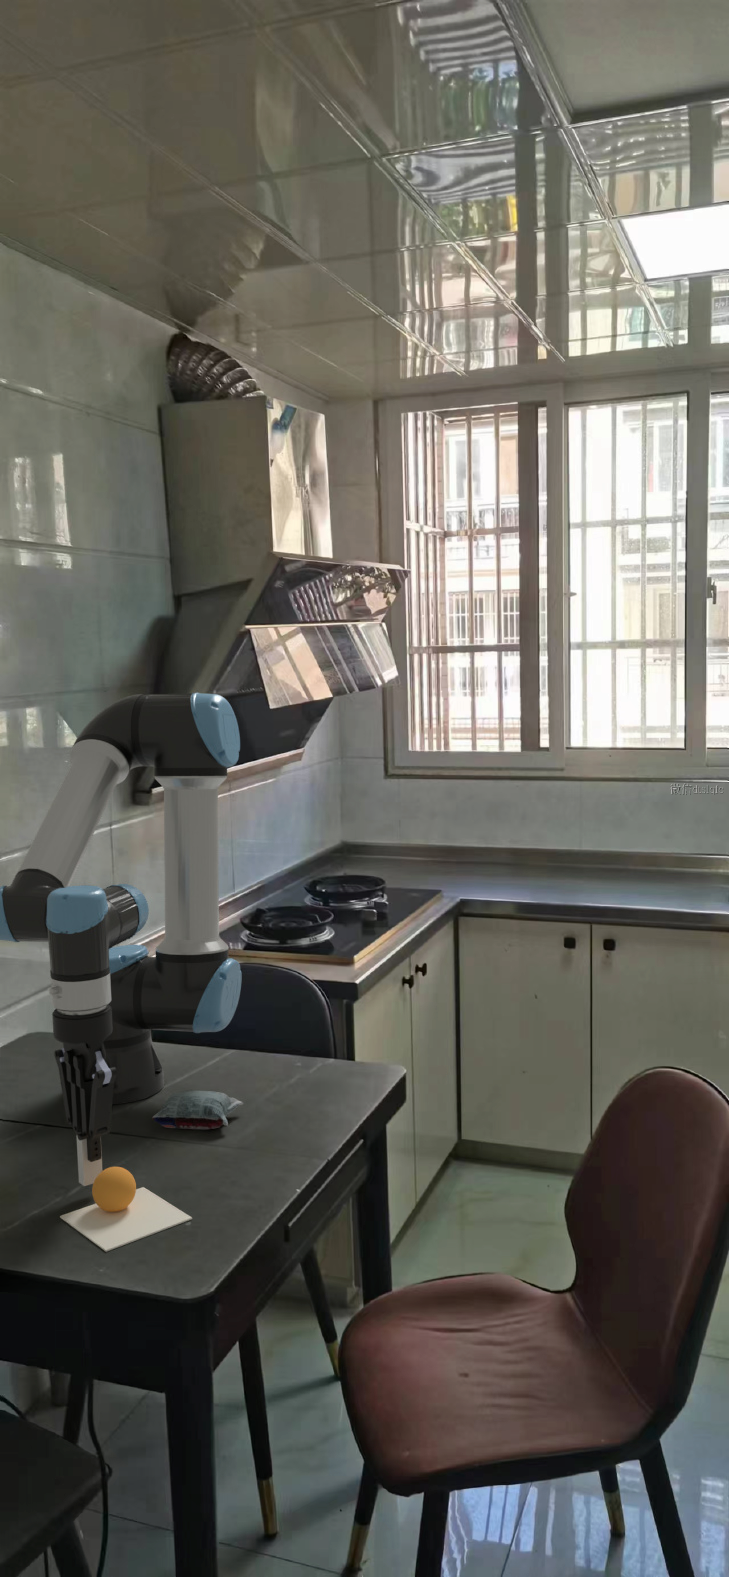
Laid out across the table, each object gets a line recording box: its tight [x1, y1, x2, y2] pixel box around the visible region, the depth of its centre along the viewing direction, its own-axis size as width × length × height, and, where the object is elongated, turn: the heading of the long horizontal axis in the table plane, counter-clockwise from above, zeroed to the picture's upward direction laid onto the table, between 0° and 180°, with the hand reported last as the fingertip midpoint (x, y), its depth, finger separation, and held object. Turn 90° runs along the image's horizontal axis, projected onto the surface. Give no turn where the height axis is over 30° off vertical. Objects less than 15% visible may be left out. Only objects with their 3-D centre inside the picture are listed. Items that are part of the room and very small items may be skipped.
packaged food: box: [151, 1089, 244, 1130], centre depth 179 cm, size 9×12×5 cm
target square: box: [59, 1186, 193, 1253], centre depth 149 cm, size 12×12×1 cm
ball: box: [91, 1166, 137, 1212], centre depth 151 cm, size 6×6×6 cm
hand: (90, 1181), depth 156 cm, fingers closed
